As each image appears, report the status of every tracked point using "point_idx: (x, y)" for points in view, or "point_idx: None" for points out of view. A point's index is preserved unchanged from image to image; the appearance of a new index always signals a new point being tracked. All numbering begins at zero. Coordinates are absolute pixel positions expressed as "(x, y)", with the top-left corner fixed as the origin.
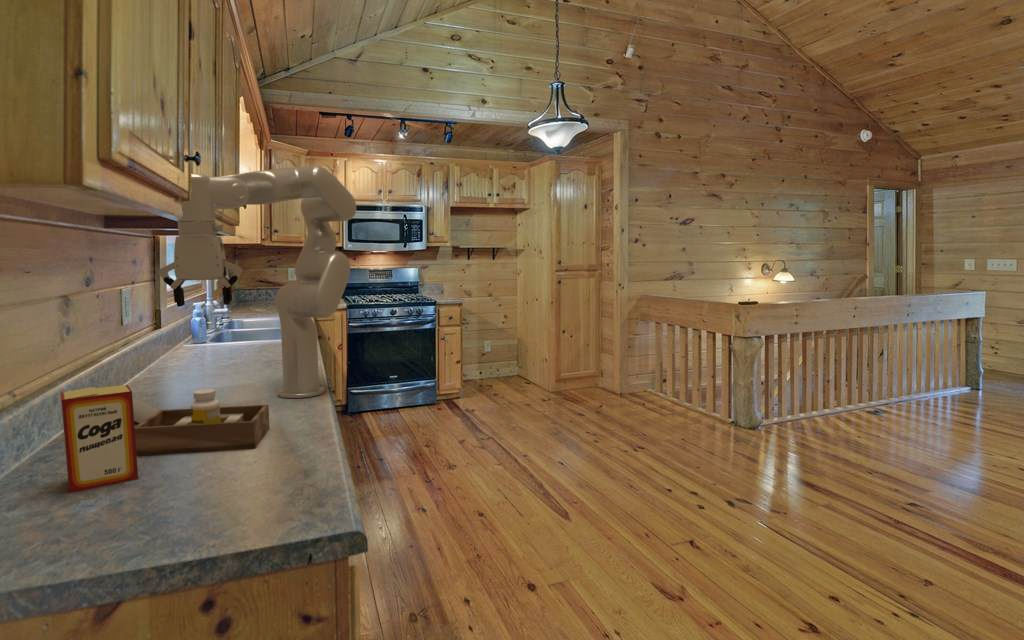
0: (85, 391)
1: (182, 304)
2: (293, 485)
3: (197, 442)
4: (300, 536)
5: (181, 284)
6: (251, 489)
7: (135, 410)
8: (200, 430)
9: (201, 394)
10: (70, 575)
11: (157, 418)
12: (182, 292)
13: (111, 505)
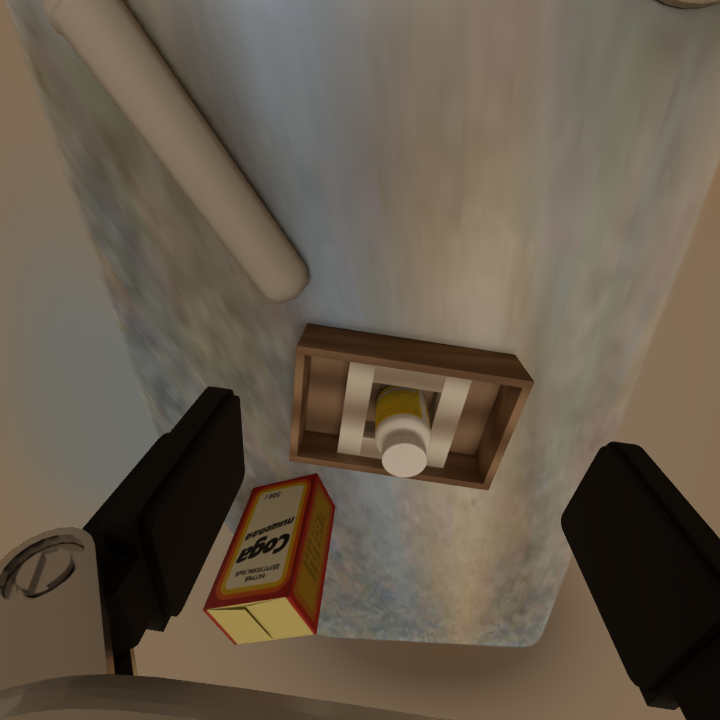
0: (244, 623)
1: (239, 448)
2: (506, 573)
3: None
4: (493, 642)
5: (107, 617)
6: (463, 568)
7: (204, 216)
8: None
9: (400, 475)
10: (345, 634)
11: (304, 380)
12: (183, 516)
13: (331, 557)
